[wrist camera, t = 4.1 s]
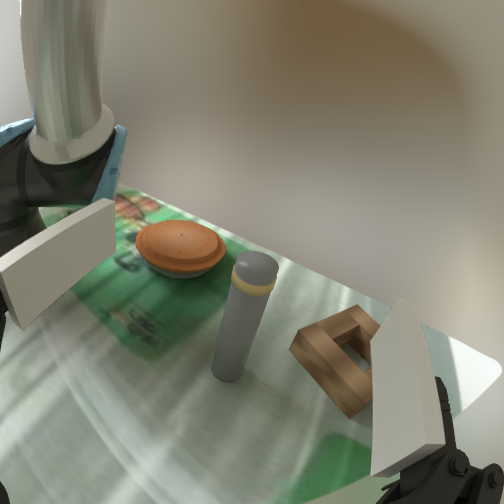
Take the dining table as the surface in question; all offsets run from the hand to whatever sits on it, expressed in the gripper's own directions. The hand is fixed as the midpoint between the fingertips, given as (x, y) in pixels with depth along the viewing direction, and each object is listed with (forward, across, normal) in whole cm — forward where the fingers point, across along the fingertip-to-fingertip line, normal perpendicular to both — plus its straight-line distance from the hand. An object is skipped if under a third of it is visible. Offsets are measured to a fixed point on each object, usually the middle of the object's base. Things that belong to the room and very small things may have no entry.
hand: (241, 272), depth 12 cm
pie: (+28, -16, -22) cm, 39 cm away
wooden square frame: (+18, +15, -22) cm, 32 cm away
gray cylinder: (+11, -1, -22) cm, 25 cm away
